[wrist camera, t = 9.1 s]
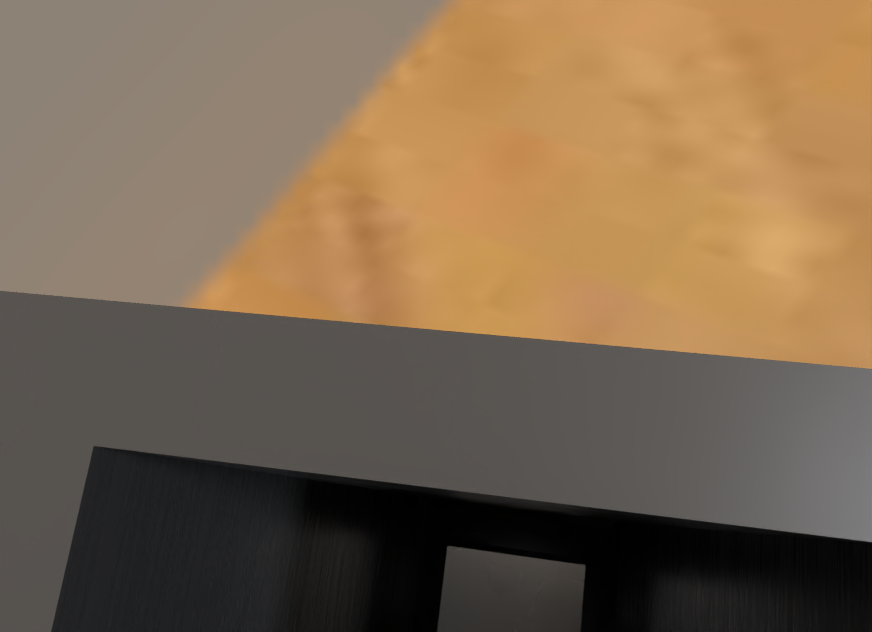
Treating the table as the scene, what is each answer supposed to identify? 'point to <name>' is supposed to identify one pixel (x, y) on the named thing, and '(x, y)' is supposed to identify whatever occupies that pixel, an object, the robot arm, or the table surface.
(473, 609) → the ratchet
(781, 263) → the table surface
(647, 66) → the table surface
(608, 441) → the socket
